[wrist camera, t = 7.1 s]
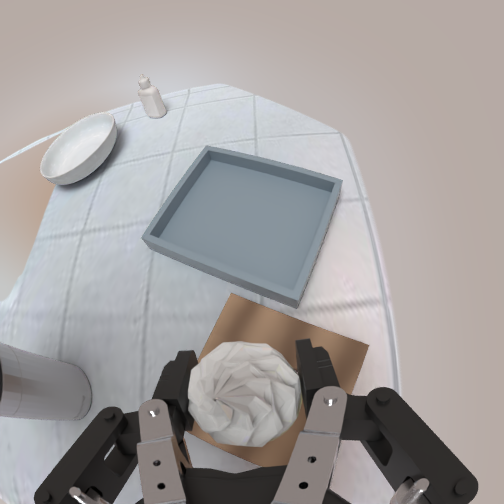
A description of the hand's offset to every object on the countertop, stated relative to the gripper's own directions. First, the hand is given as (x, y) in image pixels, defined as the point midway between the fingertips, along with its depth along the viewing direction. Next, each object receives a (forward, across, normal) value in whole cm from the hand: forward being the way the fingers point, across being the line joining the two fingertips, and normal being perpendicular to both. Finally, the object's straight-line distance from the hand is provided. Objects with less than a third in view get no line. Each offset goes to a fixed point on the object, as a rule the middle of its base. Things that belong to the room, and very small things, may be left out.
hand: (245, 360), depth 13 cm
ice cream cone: (+4, 0, +7) cm, 8 cm away
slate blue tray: (+32, +1, -1) cm, 32 cm away
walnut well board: (+14, 0, +17) cm, 22 cm away
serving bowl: (+49, +36, -18) cm, 64 cm away
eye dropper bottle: (+57, +20, -26) cm, 65 cm away
